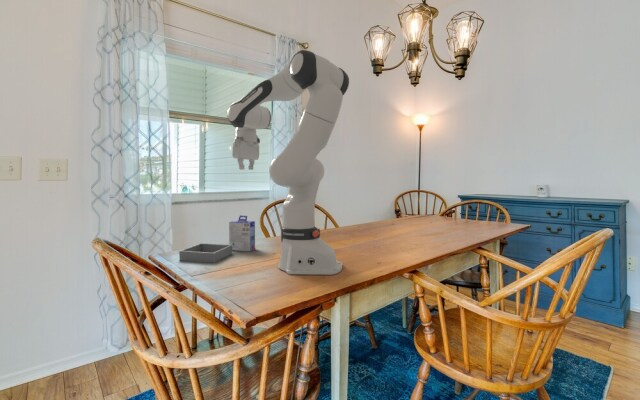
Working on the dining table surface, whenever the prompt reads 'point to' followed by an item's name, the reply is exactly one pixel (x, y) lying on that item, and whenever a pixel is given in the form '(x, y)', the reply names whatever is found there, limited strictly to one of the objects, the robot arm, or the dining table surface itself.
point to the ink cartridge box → (242, 234)
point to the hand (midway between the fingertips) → (246, 169)
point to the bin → (205, 252)
